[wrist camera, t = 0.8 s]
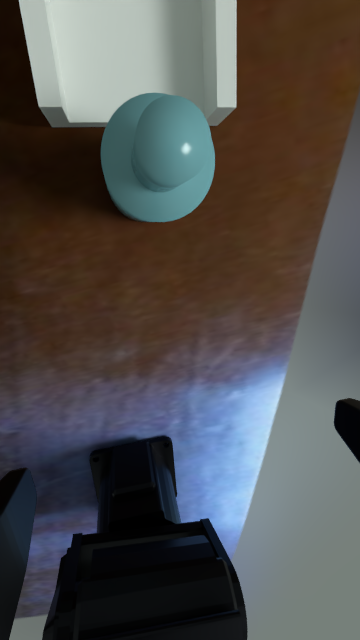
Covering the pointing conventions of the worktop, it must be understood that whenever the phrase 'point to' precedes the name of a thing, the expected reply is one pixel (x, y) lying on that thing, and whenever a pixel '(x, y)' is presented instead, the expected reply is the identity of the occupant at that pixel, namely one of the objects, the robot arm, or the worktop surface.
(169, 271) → the worktop surface
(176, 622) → the robot arm
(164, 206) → the bottle
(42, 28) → the u rest
